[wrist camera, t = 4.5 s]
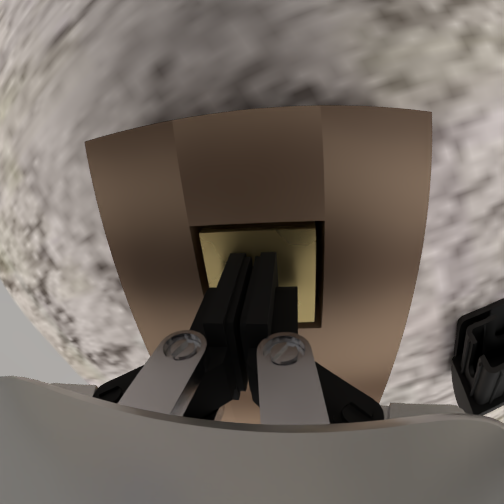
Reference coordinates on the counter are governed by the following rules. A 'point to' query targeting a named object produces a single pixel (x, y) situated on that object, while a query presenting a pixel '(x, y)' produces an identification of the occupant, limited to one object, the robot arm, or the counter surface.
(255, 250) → the brass peg
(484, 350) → the end cap
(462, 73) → the counter surface
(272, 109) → the walnut block
